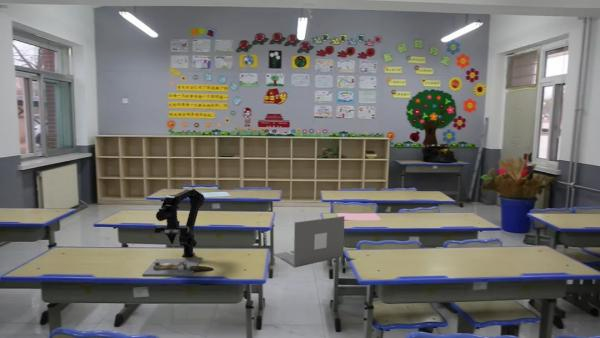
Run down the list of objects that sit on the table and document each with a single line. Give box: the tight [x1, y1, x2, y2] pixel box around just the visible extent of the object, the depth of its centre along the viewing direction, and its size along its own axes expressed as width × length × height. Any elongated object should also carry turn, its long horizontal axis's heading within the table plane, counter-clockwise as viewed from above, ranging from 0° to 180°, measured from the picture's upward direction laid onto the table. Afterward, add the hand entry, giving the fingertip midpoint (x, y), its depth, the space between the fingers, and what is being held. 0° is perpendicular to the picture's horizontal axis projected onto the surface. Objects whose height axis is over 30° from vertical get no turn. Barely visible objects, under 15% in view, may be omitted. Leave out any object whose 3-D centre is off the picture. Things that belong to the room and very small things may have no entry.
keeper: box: [178, 262, 186, 271], centre depth 230 cm, size 6×3×3 cm, turn 2°
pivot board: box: [142, 258, 202, 277], centre depth 235 cm, size 25×26×1 cm
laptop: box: [273, 215, 345, 268], centre depth 257 cm, size 35×26×27 cm
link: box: [153, 262, 187, 269], centre depth 232 cm, size 18×4×3 cm, turn 96°
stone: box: [190, 265, 214, 272], centre depth 232 cm, size 13×5×2 cm, turn 103°
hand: (172, 243), depth 240 cm, fingers closed
